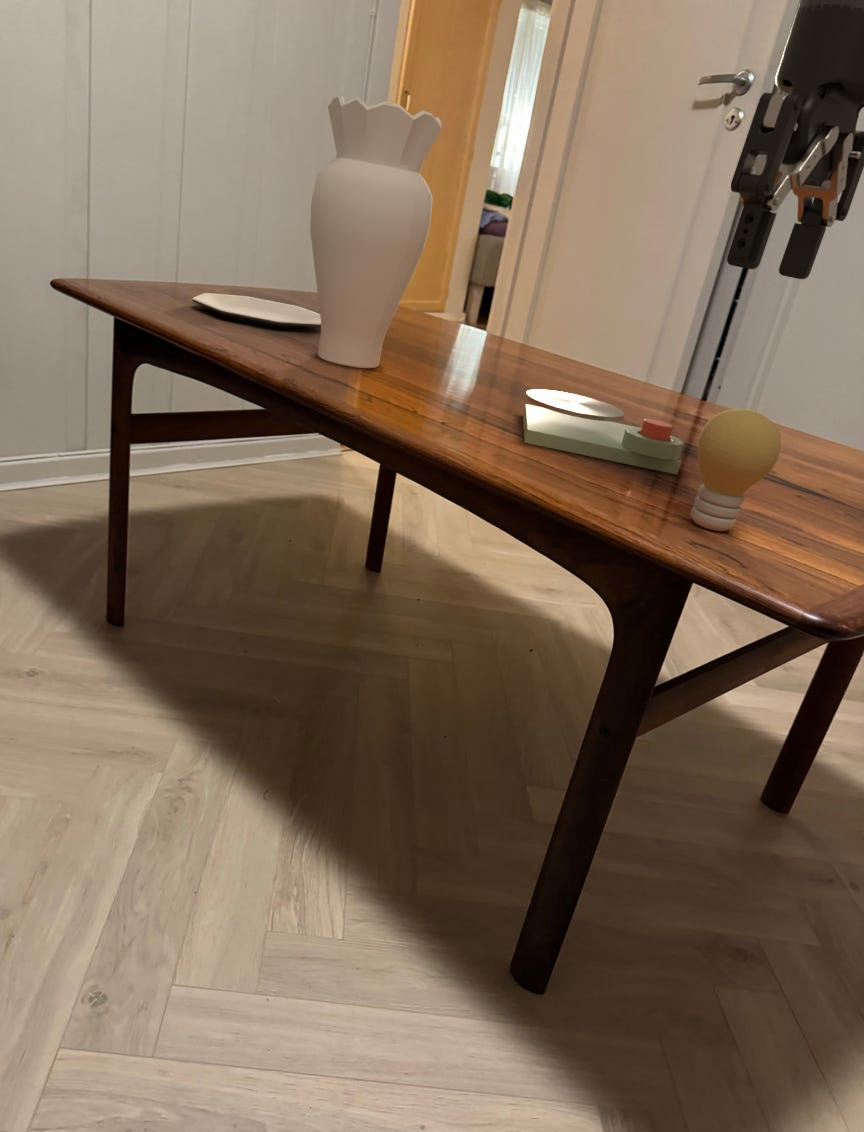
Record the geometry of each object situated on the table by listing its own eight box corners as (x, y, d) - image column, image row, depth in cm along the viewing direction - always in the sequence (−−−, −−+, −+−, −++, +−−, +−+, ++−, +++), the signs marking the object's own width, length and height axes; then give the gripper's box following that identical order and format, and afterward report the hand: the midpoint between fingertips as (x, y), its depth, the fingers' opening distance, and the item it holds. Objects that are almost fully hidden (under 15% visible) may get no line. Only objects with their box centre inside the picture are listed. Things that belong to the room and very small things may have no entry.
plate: (170, 300, 137) (171, 289, 136) (276, 308, 150) (277, 298, 149) (243, 330, 124) (244, 318, 124) (351, 335, 137) (353, 325, 137)
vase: (317, 343, 125) (350, 104, 113) (416, 367, 122) (462, 125, 110) (273, 354, 113) (305, 85, 100) (383, 381, 110) (431, 108, 97)
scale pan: (618, 407, 105) (619, 403, 104) (629, 427, 95) (630, 423, 95) (524, 388, 105) (525, 384, 105) (526, 406, 95) (527, 401, 95)
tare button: (665, 439, 95) (670, 422, 94) (670, 445, 92) (675, 428, 91) (637, 433, 95) (642, 416, 94) (641, 439, 92) (646, 422, 91)
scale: (657, 443, 105) (665, 418, 104) (678, 477, 92) (688, 448, 91) (522, 415, 106) (529, 390, 105) (524, 444, 92) (531, 415, 91)
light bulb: (657, 512, 78) (695, 397, 74) (709, 512, 81) (748, 402, 77) (710, 541, 74) (754, 419, 69) (763, 540, 77) (808, 423, 72)
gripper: (873, -18, 53) (772, 274, 60) (948, 43, 63) (853, 289, 70) (756, -18, 58) (675, 254, 65) (843, 39, 67) (764, 271, 74)
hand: (767, 272), depth 67 cm, fingers open, 8 cm apart
